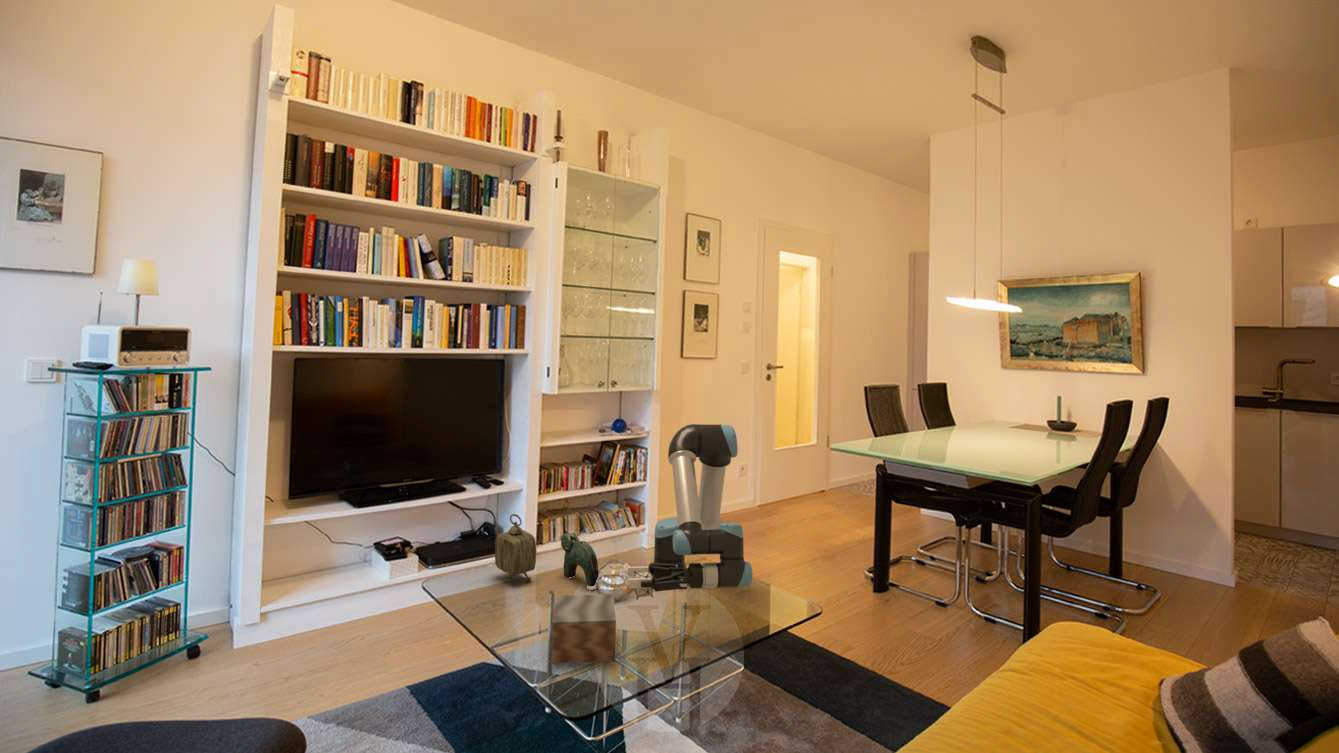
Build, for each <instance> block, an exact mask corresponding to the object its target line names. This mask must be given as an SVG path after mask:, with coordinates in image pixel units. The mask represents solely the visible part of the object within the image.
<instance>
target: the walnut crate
mask: <svg viewBox="0 0 1339 753" xmlns="http://www.w3.org/2000/svg"><path fill="white" fill-rule="evenodd" d="M614 597H615V596H614V593H611V594H607V593H606V594H605V593H603V594H575V595H574V594H571V595H565V594H564V595H555V596H554V604H553V606H554V607H553V614H552V622H551V636H552V637H551V664H562V663H564V664H566V663H585V662H587V663H588V662H614V661H616V634H617V633H616V631H617V626H616V625H617V618H616V617H617V616H616V608H615V598H614Z"/></svg>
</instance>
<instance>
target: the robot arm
mask: <svg viewBox="0 0 1339 753" xmlns="http://www.w3.org/2000/svg"><path fill="white" fill-rule="evenodd" d="M736 434H737V433H736V430H735V428H734V427H733V426H732V425H731V424H722V423H720V424H707V423H706V424H695V423H691V424H690V423H689V424H687V425H685V426H683V427H681V428H680V429H679V430H677V432H676V433H675V434H674V435H673V437H672V439H671V440H670V442H669V445H668V446H669V447H668V452H667V453H668V454H667V455H668V456H667V457H668V463H669V464H670V465H671V468H672V477H673V479H672V480H673V486H674V498H675V508H676V516H673V517H668V518H667V517H666V518H662V519H660V520H659V521H657V523H656V524H655V528H654V533H653V535H654V536H653V537H654V548H653V549H654V551H653V552H654V553H653V562H650V564H649V565H648V566H627V577H634V576H635V573H634V571H636V573H640V572H648V571H649V569H650V573H651V575H652V576H653V577H652V581H651V578H635V579H633V578H629V584H628V585H629V586H628V587H629V589H632V588H652V589H654V592H664V591H675V590H687V589H688V588H687V587H688V586H689V588H690V589H702V588H704V589H709V590H712V589H715V588H716V589H720V588H722V589H726V588H727V589H728V588H729V589H730V588H731V589H732V588H734V589H735V588H744V587H749V586H751V584H752V582H753V567H752V564H751V563H750V562H749V561H745V557H744V555H745V554H744V551H745V550H744V531H743V526H742V524H741V523H738V522H731V523H724V522H723V519H722V517H720V515H721V508H722V501H723V500H722V499H723V493H724V484H725V477H726V468H727V467H728V466H730V465H731V462H732V458H737V456H738V451H739V450H738V439H737V438H738V437H737V435H736ZM697 458H698V461H699V462H700V463H701V472H700V483H699V491H698V485H697V484H698V483H697V477H696V468H695V462H696V461H697ZM698 492H699V493H698ZM695 555H696V556H697V555H719V560H720V562H703V563H700V562H690V563H689V564H688V567H687V565H686V562H685V560H686V559H685V556H695Z"/></svg>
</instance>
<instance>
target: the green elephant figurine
mask: <svg viewBox="0 0 1339 753" xmlns="http://www.w3.org/2000/svg"><path fill="white" fill-rule="evenodd" d="M576 531H577V533H578V534H581V532H580V530H579V529H578V528H576V529H574V532H568V531H567V530H566V529H565V530H564V533H563V535H562V536H561V538H560V547H561V549H562V550H564V551H565V552H564V559H563V577H564V576H565V577H564V578H566V577H567V578H569V577H573V576H575V575H576V576H577V568H578V566H579V567H581V569H582V570H583V573H584V577H585V585H586V586H587V585H588V586H594V585H595V583H596V580H597V578H598V579H599V575H600V573H599V572H600V571H599V564H598V559H597V558H598V557H597V554H596V552H595V551H594V549H593V547H592V546H591V545H590V544H589V543H588V542H586V540H585V541H584V540H580V538H579V536H578V534H577V533H576ZM567 578H566V579H567ZM573 578H574V577H573Z"/></svg>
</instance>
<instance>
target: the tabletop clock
mask: <svg viewBox="0 0 1339 753" xmlns="http://www.w3.org/2000/svg"><path fill="white" fill-rule="evenodd" d="M512 517H516V518H517V519H518V520H519V524H518V522H517V521H513V520H512ZM509 520H510V523H511V524H512V526H511V527H510V528H509V530H508V531H505V532H502V533H498V535H497V536H496V537H495V541H494V543H495V544H494V560H495V561H494V563H495V566H496V568H498V569H499V570H501V571H502V572H503V573H507V574H508V575H509V577H508V578H507V581H508V582H512V581H513V577H512V576H519V575H521V574H523V575H524V576H525V578H526V581H527V583H530V582H531V581H532V577H530V576H528V574H527V572H531V571H534V570H535V569H536V563H537V543H536V542H537V541H536V538H535V536H534V535H533V534H531V533H530V532H527V531H526V530H523V529H522V527H521V525H522V519H521V517H520V516H519V515H518V514H515V513H513V514H511V515H510V517H509Z"/></svg>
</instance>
